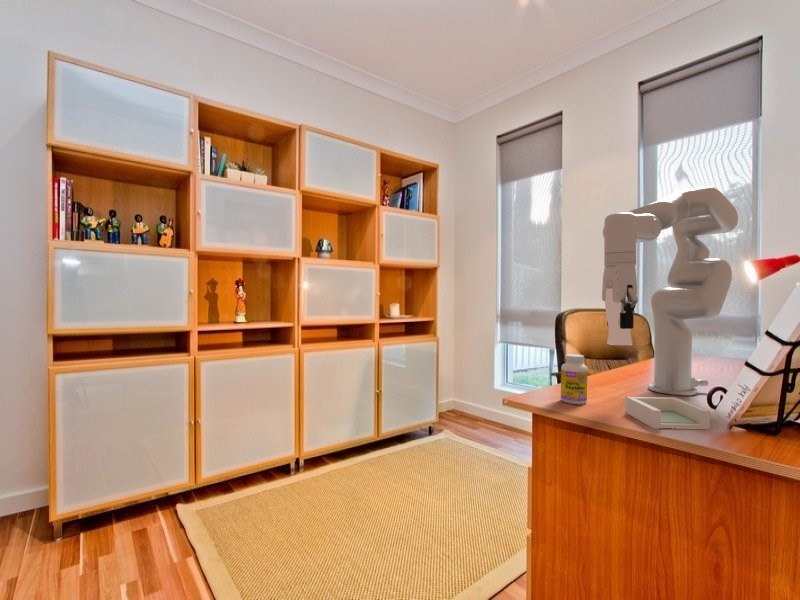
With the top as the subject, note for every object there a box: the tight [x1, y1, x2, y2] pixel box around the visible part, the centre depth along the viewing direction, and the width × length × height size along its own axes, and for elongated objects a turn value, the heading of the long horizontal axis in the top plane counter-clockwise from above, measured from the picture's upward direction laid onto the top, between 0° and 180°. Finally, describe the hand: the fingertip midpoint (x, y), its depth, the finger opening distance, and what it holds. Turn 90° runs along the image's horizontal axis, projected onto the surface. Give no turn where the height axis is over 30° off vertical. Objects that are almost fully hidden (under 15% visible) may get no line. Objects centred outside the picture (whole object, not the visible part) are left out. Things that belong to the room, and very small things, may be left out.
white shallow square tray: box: [625, 396, 711, 430], centre depth 97 cm, size 12×12×4 cm
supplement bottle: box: [560, 353, 588, 405], centre depth 113 cm, size 7×7×13 cm
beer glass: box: [604, 288, 636, 347], centre depth 111 cm, size 7×7×15 cm
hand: (619, 326), depth 111 cm, fingers closed on beer glass, 6 cm apart
